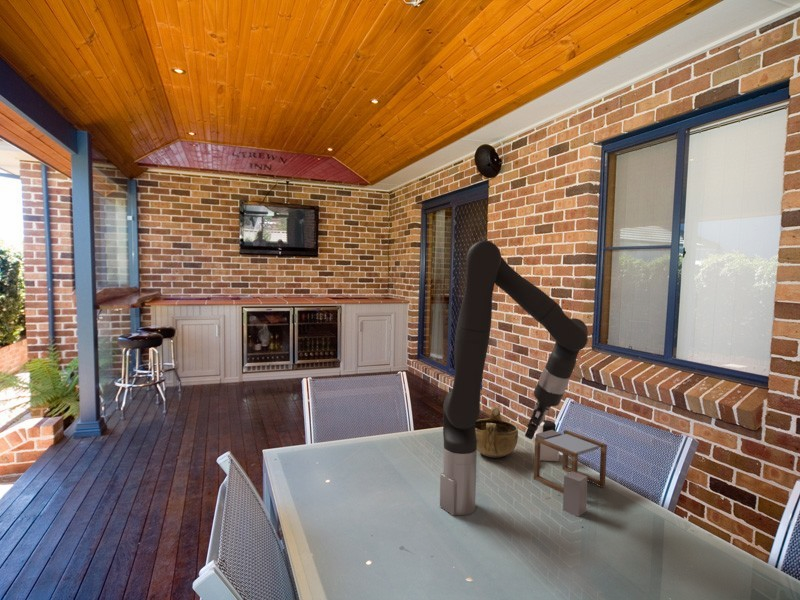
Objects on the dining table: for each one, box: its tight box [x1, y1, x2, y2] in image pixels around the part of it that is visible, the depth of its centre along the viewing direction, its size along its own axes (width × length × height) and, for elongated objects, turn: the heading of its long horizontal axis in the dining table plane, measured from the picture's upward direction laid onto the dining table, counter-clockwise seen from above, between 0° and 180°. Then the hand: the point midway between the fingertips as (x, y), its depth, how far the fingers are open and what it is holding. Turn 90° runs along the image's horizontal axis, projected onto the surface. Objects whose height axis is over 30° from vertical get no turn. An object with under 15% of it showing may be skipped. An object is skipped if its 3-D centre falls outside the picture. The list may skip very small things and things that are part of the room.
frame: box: [533, 429, 608, 495], centre depth 144 cm, size 15×15×14 cm
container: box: [532, 419, 560, 462], centre depth 164 cm, size 8×8×13 cm
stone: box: [562, 471, 588, 517], centre depth 127 cm, size 4×4×10 cm
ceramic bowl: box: [475, 406, 519, 459], centre depth 166 cm, size 22×17×15 cm
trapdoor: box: [536, 430, 600, 456], centre depth 145 cm, size 12×16×2 cm
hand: (532, 430), depth 133 cm, fingers open, 8 cm apart
